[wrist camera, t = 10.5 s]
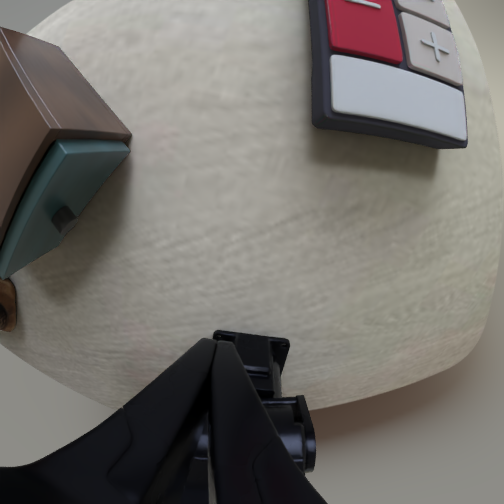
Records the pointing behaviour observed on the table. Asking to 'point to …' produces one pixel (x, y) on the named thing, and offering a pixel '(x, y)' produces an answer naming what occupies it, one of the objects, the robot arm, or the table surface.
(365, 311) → the table surface
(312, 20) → the calculator
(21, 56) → the cabinet
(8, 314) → the coin bank
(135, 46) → the table surface
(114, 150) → the drawer
